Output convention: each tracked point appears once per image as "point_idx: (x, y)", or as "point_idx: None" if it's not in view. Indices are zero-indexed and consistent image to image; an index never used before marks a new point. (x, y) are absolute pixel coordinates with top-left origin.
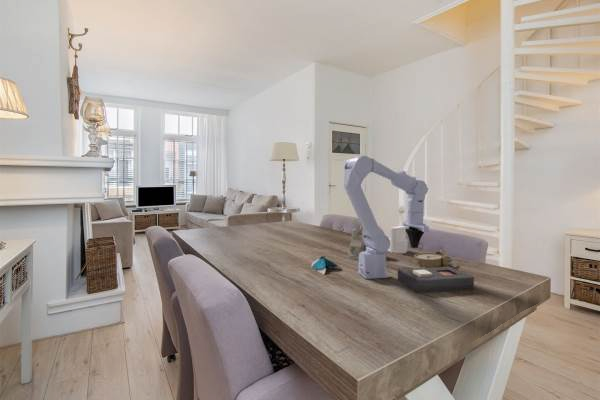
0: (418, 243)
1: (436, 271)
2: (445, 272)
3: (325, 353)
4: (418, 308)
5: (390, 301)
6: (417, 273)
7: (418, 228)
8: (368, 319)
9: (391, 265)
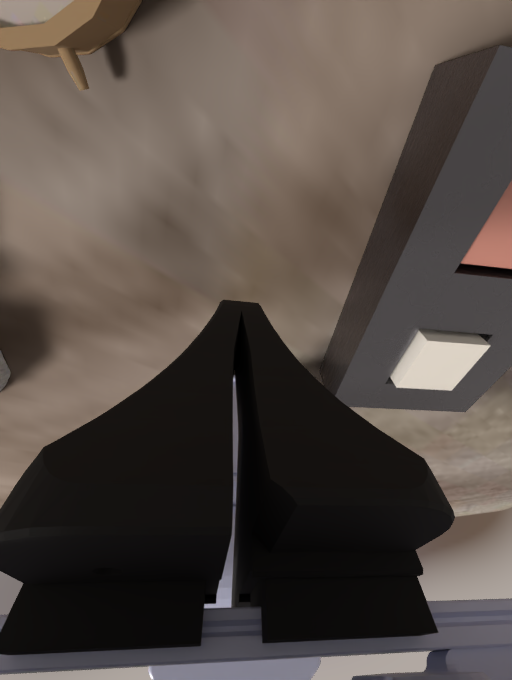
0: (271, 330)
1: (471, 277)
2: (509, 209)
3: (459, 515)
4: (490, 417)
5: (421, 440)
6: (430, 387)
7: (411, 651)
8: (442, 480)
9: (101, 284)
